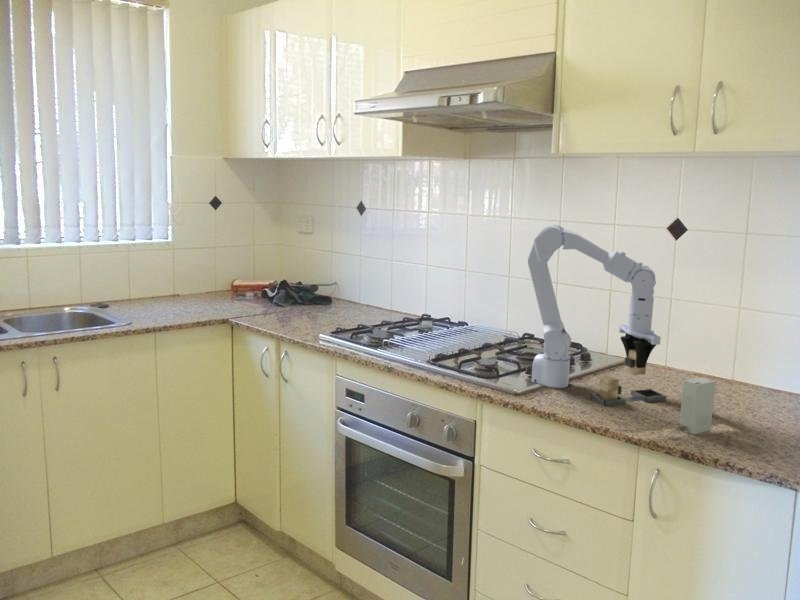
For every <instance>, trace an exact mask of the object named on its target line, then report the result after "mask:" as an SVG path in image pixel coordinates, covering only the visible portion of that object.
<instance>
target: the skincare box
mask: <svg viewBox="0 0 800 600" xmlns="http://www.w3.org/2000/svg"><path fill="white" fill-rule="evenodd" d="M716 385H717V382H716V381H715V380H713V379H710V378H709V379H708V378H705V377H701V376H700V377H695V378H689V379H684V381H683V387H682V396H681V406H680V411H679V412H680V415H679V420H678V421H679V422H678V423H679V424H680V425H682V426H678V429H679V430H680V431H682V430H683V431H682V432H684V431H686V432H685V433H687V432H688V433H687V434H689V433H690V435H697V434H702V433H707V432H710V431H711V427H712V419H713V410H714V401H715V393H716Z"/></svg>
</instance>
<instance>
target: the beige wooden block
mask: <svg viewBox="0 0 800 600" xmlns="http://www.w3.org/2000/svg"><path fill="white" fill-rule="evenodd" d="M624 366H626V367H627V369H626V371H627V373H629V374H632V375H634V376H640V375H641V376H642V375H646V372H647V371H646V370H647V364H646V365H645V367H644V368H637V366H636V349H629V355H628V357H627V356H625V357H624Z"/></svg>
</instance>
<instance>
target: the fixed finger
mask: <svg viewBox="0 0 800 600" xmlns="http://www.w3.org/2000/svg"><path fill="white" fill-rule="evenodd" d="M619 382H620V380H619V379H618V378H616V377H615V376H612V375H606V376H600V377H599V389H598V390H599V392H598V393H599V397H600V398H602V399H604V400H616V399H617V396H619V395H622V388H623V387H622V386H621V385H619Z"/></svg>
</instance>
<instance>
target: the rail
mask: <svg viewBox="0 0 800 600" xmlns="http://www.w3.org/2000/svg"><path fill="white" fill-rule="evenodd" d="M590 399H591V400H593V401H595V402H597V404H600V405H602V406H604V407H607V406H610V407H611V406H618V405H626V403H630V402H641V401H642V402H643V403H654V402H655V403H656V402H666V400H667V396H666V395H665V394H662V393H660V392H658V391H656V390H654V389H652V388H646V389H634V390H631V391H630V396H627V397H622V396H619V395H618V396H617V399H616V400H604V399H602V398H600V397H599V392H595V393H590Z"/></svg>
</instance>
